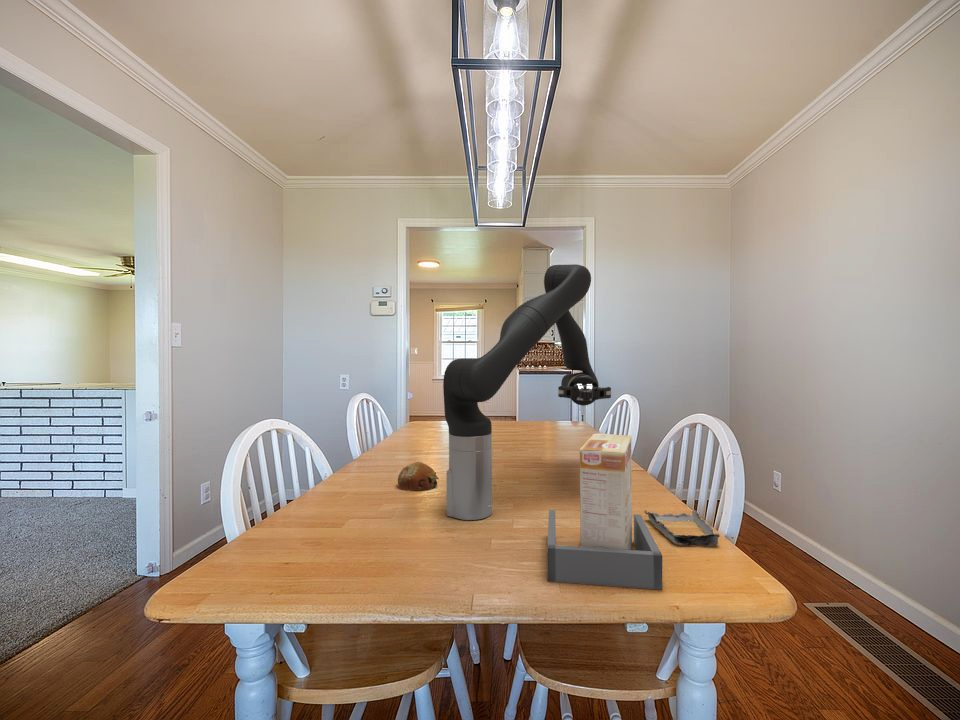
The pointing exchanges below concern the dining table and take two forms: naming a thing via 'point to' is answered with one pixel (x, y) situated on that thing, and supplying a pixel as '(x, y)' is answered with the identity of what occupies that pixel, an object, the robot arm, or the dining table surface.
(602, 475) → the coffeecake box
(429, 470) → the bread roll
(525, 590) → the dining table surface
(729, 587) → the dining table surface
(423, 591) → the dining table surface
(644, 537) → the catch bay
